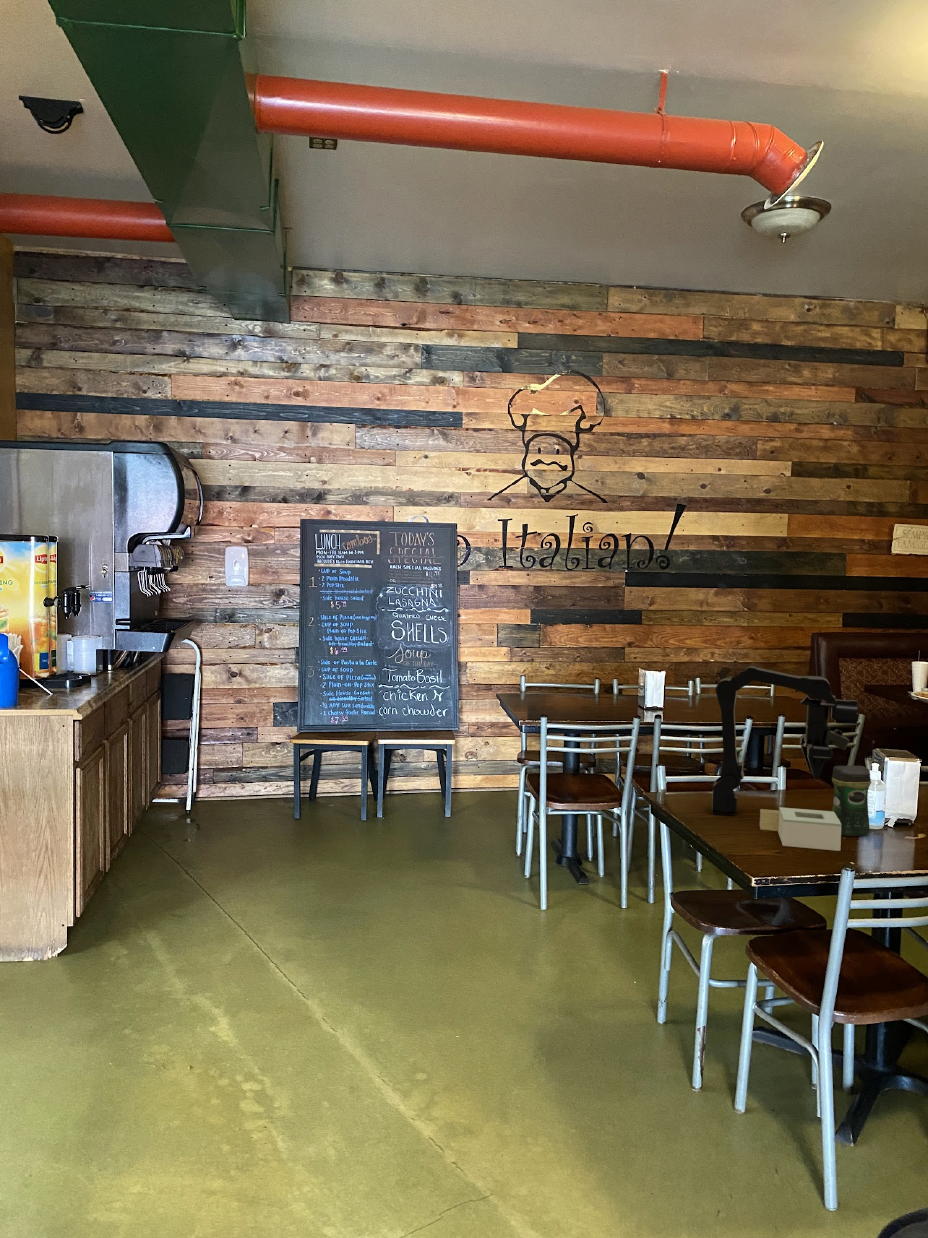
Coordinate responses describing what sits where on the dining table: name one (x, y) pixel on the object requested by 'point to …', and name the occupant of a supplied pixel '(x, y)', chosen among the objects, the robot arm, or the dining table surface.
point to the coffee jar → (851, 799)
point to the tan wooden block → (769, 819)
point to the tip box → (809, 829)
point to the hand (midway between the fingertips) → (813, 775)
